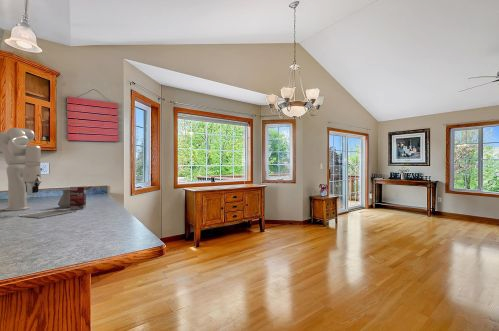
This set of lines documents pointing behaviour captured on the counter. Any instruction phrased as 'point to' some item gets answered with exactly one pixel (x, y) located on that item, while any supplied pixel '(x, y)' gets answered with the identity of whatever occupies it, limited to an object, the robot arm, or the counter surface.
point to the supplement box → (77, 198)
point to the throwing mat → (46, 214)
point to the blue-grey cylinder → (30, 188)
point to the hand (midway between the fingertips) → (32, 191)
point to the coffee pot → (66, 199)
